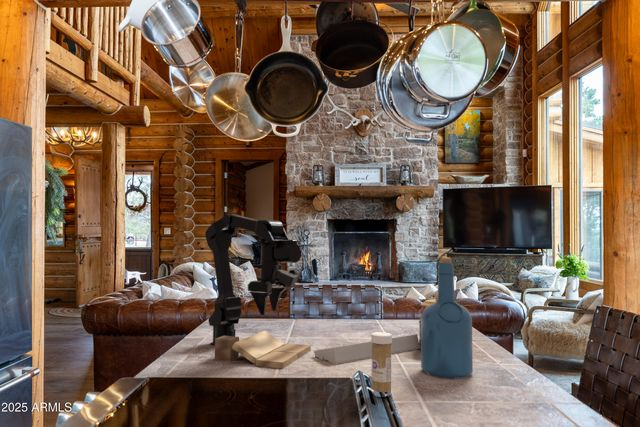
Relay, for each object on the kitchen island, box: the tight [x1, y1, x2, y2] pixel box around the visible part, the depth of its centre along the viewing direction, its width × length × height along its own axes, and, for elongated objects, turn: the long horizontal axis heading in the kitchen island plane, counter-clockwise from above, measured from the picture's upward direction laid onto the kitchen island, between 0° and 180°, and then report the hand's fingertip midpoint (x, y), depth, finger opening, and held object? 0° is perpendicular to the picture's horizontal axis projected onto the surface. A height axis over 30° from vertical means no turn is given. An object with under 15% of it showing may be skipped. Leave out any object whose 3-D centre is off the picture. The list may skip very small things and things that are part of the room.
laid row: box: [255, 342, 312, 369], centre depth 134 cm, size 8×22×2 cm, turn 162°
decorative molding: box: [313, 334, 421, 365], centre depth 141 cm, size 34×5×10 cm
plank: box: [232, 330, 286, 365], centre depth 136 cm, size 8×20×2 cm, turn 160°
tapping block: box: [214, 335, 240, 363], centre depth 132 cm, size 5×5×6 cm
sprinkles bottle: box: [370, 331, 393, 395], centre depth 102 cm, size 5×5×13 cm
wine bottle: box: [420, 256, 474, 380], centre depth 120 cm, size 14×13×30 cm
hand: (268, 312), depth 139 cm, fingers open, 9 cm apart
